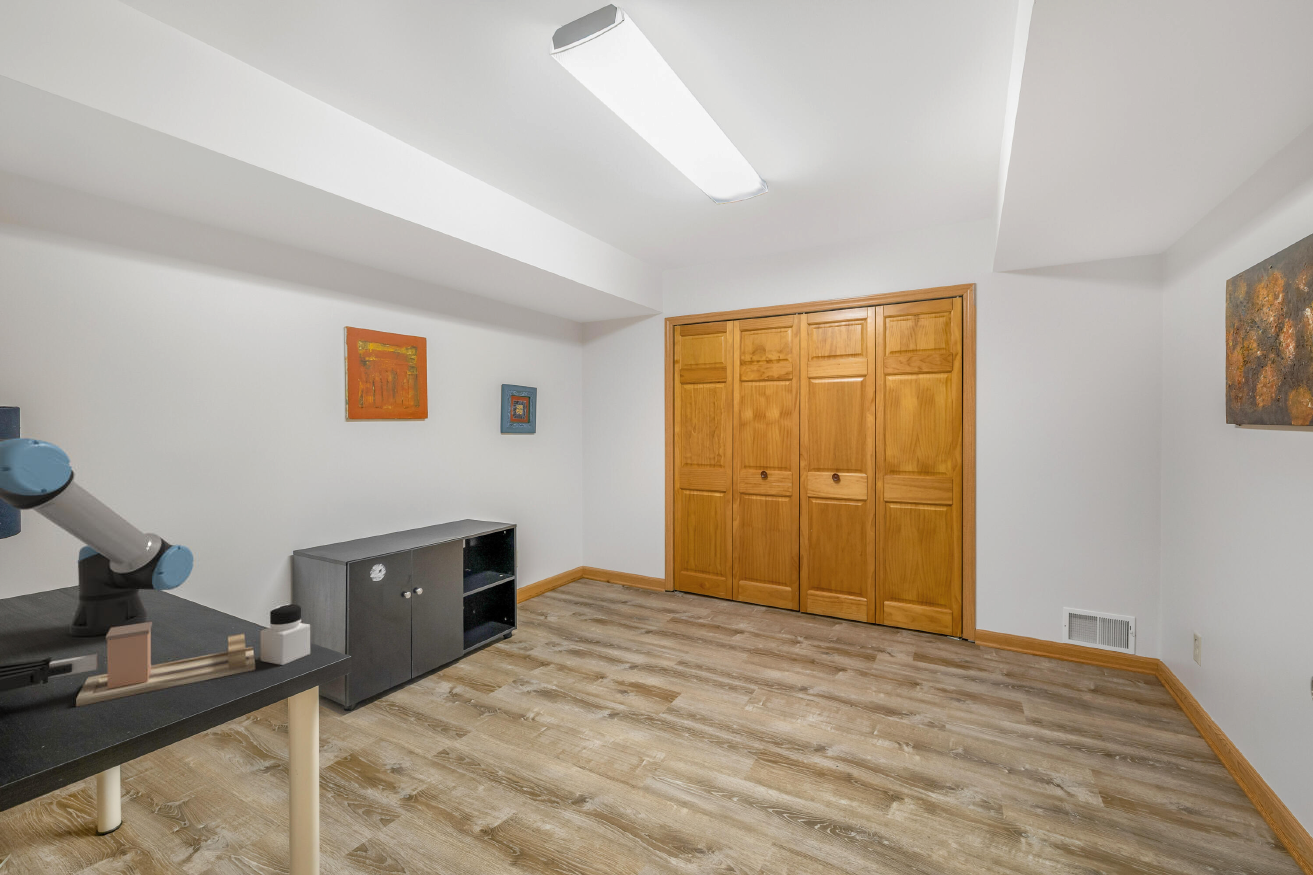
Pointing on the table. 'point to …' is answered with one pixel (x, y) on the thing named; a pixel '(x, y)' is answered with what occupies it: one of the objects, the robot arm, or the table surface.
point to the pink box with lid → (129, 654)
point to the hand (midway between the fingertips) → (96, 661)
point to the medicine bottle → (285, 636)
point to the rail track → (175, 673)
